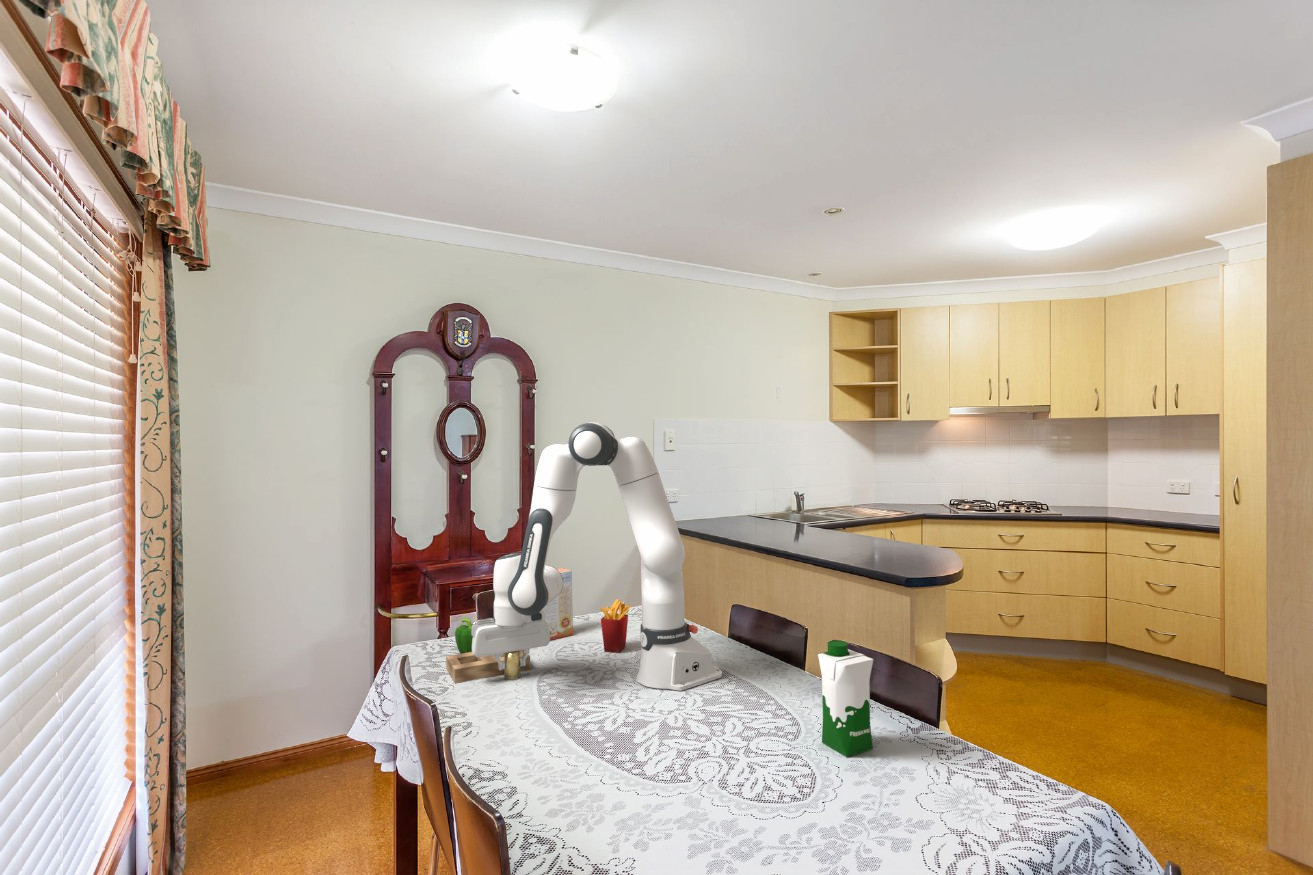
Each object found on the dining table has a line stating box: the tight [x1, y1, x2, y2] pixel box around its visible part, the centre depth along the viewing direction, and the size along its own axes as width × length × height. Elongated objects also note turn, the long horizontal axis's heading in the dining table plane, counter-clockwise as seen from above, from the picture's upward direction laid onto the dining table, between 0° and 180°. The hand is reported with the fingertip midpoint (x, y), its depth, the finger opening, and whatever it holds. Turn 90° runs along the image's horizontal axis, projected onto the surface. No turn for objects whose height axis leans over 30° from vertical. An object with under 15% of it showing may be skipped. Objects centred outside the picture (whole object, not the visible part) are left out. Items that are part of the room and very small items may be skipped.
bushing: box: [503, 651, 521, 681], centre depth 173 cm, size 4×4×7 cm
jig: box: [445, 650, 531, 684], centre depth 180 cm, size 20×12×5 cm, turn 118°
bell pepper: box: [454, 618, 475, 654], centre depth 194 cm, size 8×8×10 cm
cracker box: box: [542, 567, 574, 641], centre depth 208 cm, size 14×6×21 cm, turn 128°
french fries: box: [599, 598, 632, 654], centre depth 195 cm, size 9×8×15 cm
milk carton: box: [817, 640, 874, 758], centre depth 132 cm, size 9×9×20 cm
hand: (512, 667), depth 173 cm, fingers closed on bushing, 4 cm apart
